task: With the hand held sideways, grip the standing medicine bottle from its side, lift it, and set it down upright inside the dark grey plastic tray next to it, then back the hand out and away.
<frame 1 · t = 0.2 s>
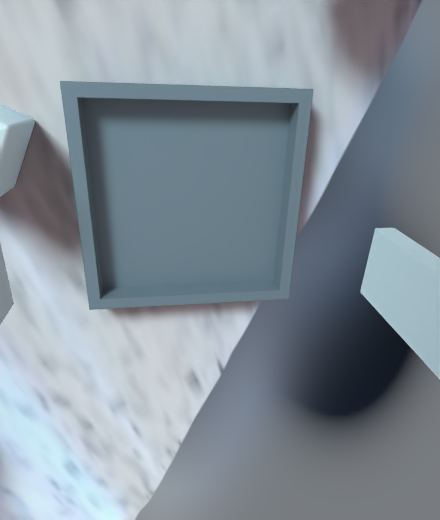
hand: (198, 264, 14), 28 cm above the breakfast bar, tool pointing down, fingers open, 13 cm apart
tray: (190, 198, 41), on the breakfast bar
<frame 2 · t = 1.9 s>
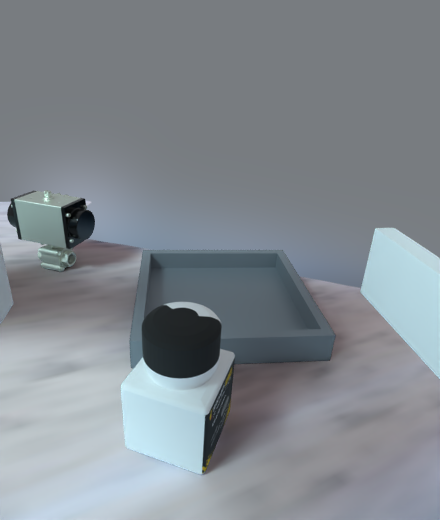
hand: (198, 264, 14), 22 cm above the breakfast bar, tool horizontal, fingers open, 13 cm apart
medicine bottle: (180, 430, 34), on the breakfast bar
pneumatic valve: (60, 266, 60), on the breakfast bar
tray: (221, 308, 52), on the breakfast bar
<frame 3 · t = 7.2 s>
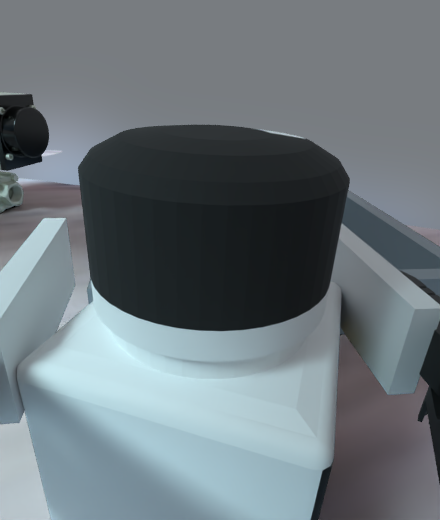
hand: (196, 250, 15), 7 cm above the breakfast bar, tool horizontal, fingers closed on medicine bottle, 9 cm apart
medicine bottle: (202, 483, 14), on the breakfast bar, touching gripper
pneumatic valve: (0, 208, 40), on the breakfast bar
tray: (253, 254, 32), on the breakfast bar
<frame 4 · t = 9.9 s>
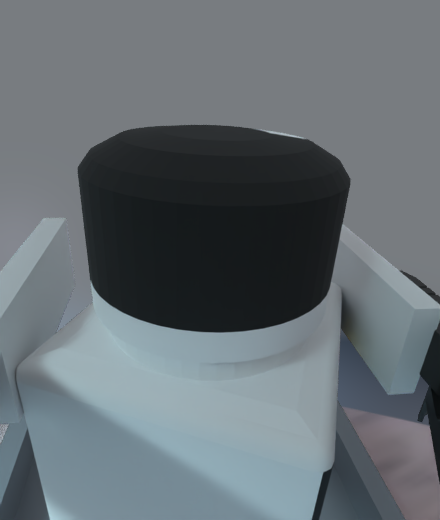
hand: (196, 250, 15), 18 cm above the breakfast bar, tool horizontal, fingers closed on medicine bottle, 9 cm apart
medicine bottle: (202, 485, 14), point 11 cm above the breakfast bar, touching gripper
when the fingers open (9 cm above the breakfast bar, at t = 13.1 s): medicine bottle drops 1 cm, resting on tray.
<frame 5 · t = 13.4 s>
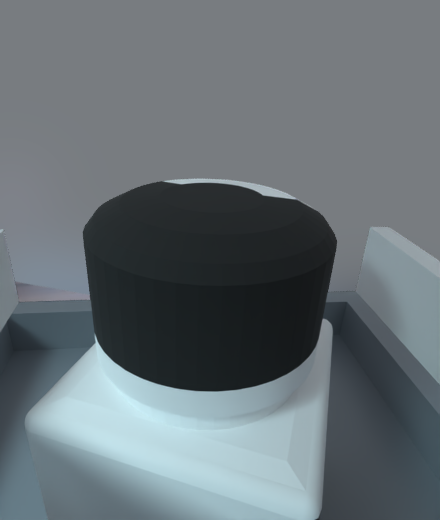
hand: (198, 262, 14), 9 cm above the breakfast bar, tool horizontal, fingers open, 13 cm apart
medicine bottle: (200, 510, 14), point 1 cm above the breakfast bar, touching tray
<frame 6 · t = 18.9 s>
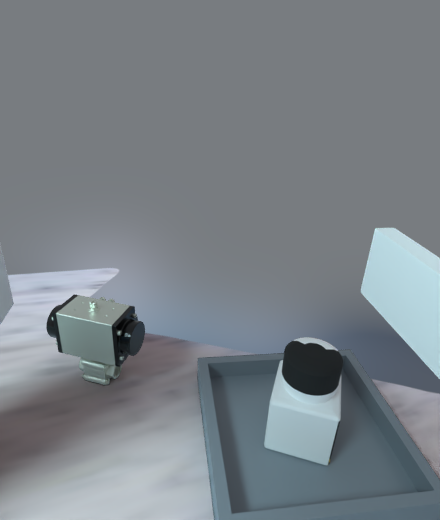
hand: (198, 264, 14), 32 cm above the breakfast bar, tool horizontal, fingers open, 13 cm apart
medicine bottle: (298, 433, 45), point 1 cm above the breakfast bar, touching tray
pneumatic valve: (103, 374, 54), on the breakfast bar
tray: (298, 437, 45), on the breakfast bar
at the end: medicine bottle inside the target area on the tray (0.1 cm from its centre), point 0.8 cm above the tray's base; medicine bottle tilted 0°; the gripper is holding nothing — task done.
